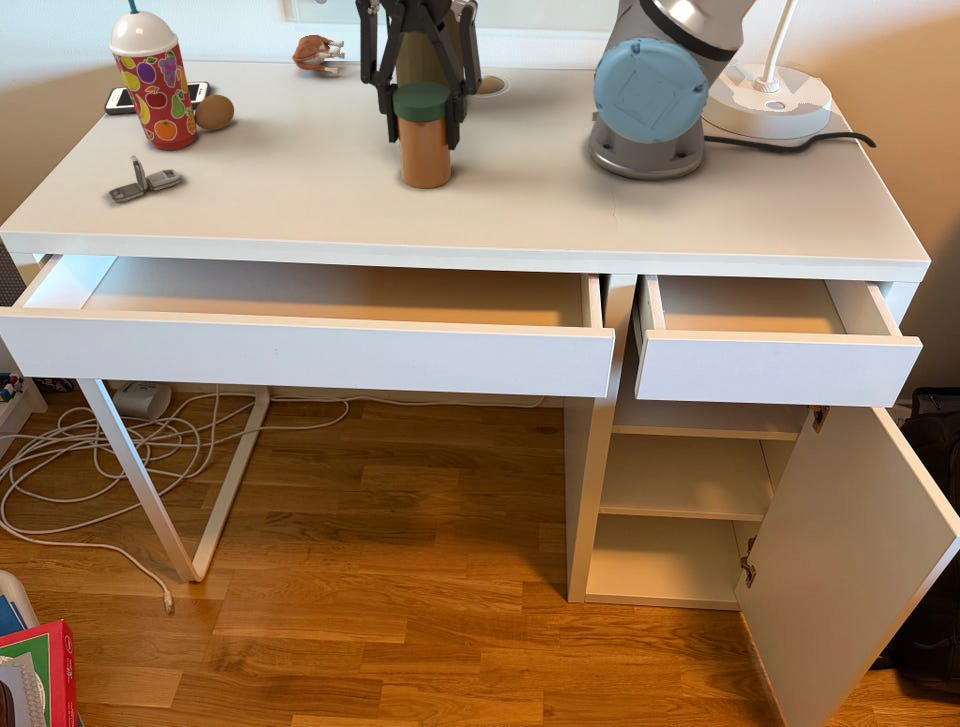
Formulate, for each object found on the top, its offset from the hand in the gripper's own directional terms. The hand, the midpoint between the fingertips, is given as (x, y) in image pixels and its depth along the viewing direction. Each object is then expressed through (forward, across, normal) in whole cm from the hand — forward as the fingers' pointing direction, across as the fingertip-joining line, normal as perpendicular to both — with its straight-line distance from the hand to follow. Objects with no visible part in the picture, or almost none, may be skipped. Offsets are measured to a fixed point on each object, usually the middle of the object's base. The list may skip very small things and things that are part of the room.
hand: (424, 141), depth 95 cm
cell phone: (+5, +46, -11) cm, 48 cm away
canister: (+5, +6, -21) cm, 22 cm away
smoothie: (+5, +37, -1) cm, 38 cm away
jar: (+5, 0, 0) cm, 5 cm away
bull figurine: (+3, +24, -31) cm, 39 cm away
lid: (-6, 0, 0) cm, 6 cm away
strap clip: (+5, +34, +12) cm, 36 cm away
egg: (+2, +32, -8) cm, 33 cm away
